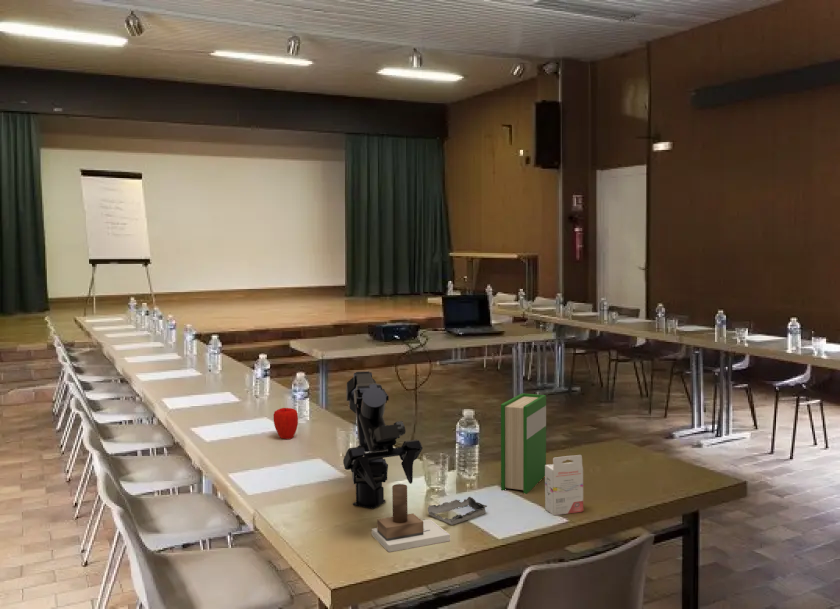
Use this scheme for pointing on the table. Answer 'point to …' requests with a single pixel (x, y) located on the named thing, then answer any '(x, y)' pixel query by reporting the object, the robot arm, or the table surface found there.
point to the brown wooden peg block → (399, 518)
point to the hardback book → (523, 441)
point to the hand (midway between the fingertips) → (393, 485)
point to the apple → (286, 422)
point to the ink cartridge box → (564, 485)
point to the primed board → (415, 537)
